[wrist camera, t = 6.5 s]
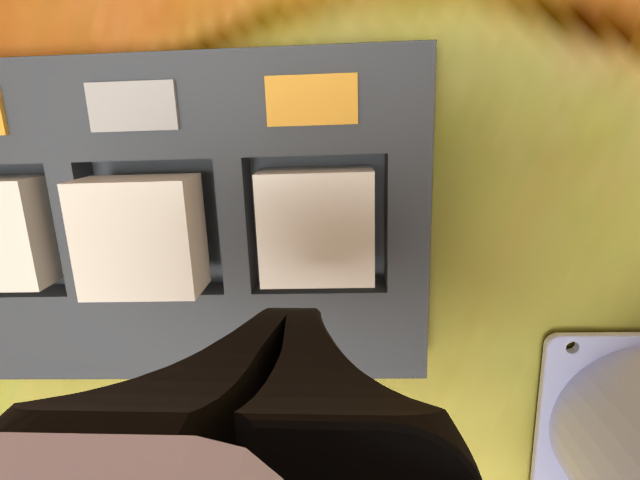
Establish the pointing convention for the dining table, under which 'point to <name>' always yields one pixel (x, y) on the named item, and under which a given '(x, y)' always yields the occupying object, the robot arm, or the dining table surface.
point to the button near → (315, 226)
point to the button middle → (136, 237)
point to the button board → (225, 191)
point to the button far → (27, 235)
